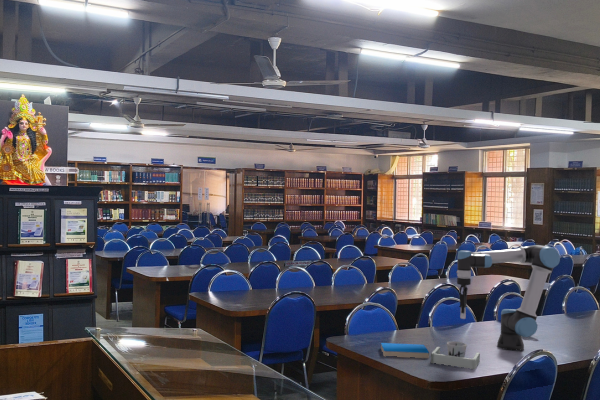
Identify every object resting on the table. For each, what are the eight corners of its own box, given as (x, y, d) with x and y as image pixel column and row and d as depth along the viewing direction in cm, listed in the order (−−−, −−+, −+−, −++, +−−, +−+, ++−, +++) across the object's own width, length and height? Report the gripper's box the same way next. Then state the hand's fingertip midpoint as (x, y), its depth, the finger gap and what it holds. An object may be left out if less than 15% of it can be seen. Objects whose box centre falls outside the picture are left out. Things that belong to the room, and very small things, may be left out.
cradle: (479, 361, 302) (479, 352, 302) (475, 369, 287) (475, 359, 287) (437, 355, 312) (437, 346, 312) (430, 362, 297) (430, 353, 297)
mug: (445, 363, 297) (445, 344, 297) (447, 356, 311) (448, 338, 311) (465, 365, 293) (466, 347, 293) (467, 358, 307) (467, 340, 307)
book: (429, 352, 306) (384, 349, 306) (429, 360, 306) (383, 357, 306) (423, 344, 323) (380, 342, 324) (423, 351, 323) (380, 349, 324)
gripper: (459, 275, 326) (458, 315, 326) (455, 278, 314) (454, 319, 314) (472, 276, 323) (471, 317, 323) (468, 279, 311) (467, 321, 311)
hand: (462, 318), depth 319 cm, fingers closed
